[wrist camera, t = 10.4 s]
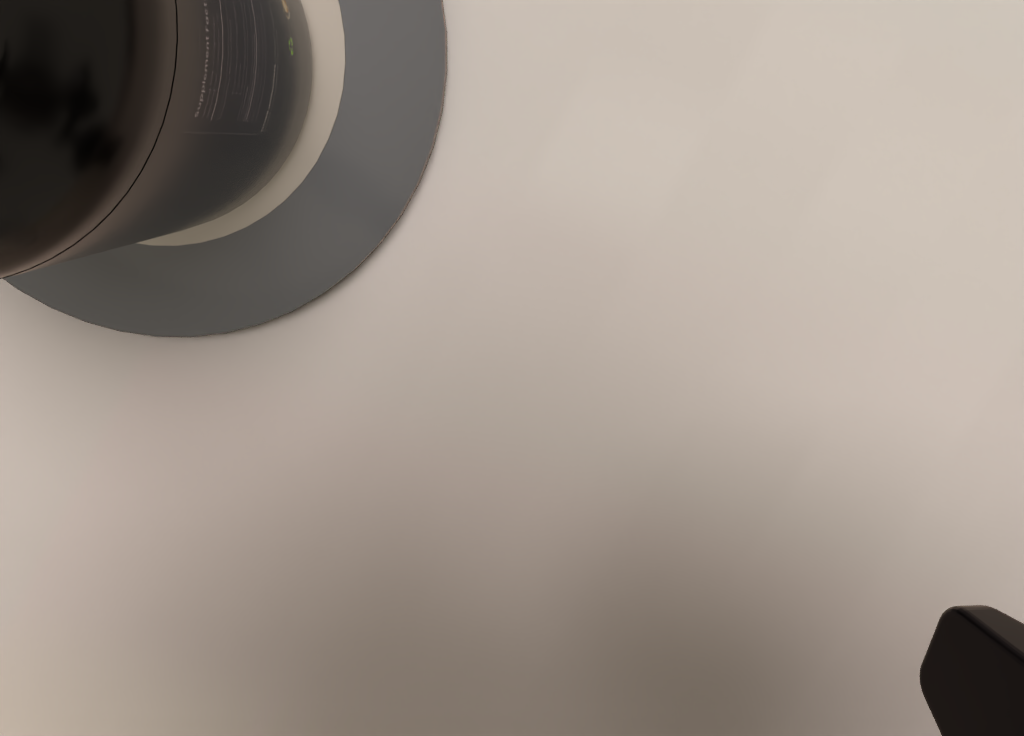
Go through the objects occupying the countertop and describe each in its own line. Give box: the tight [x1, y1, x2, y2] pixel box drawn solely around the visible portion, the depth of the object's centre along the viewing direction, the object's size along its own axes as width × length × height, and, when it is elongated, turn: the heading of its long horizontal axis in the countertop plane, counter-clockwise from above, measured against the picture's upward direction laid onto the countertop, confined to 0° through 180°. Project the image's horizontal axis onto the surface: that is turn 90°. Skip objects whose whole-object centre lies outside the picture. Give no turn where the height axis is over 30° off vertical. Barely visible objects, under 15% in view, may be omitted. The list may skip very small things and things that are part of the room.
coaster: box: [3, 0, 447, 337], centre depth 19 cm, size 12×12×1 cm
